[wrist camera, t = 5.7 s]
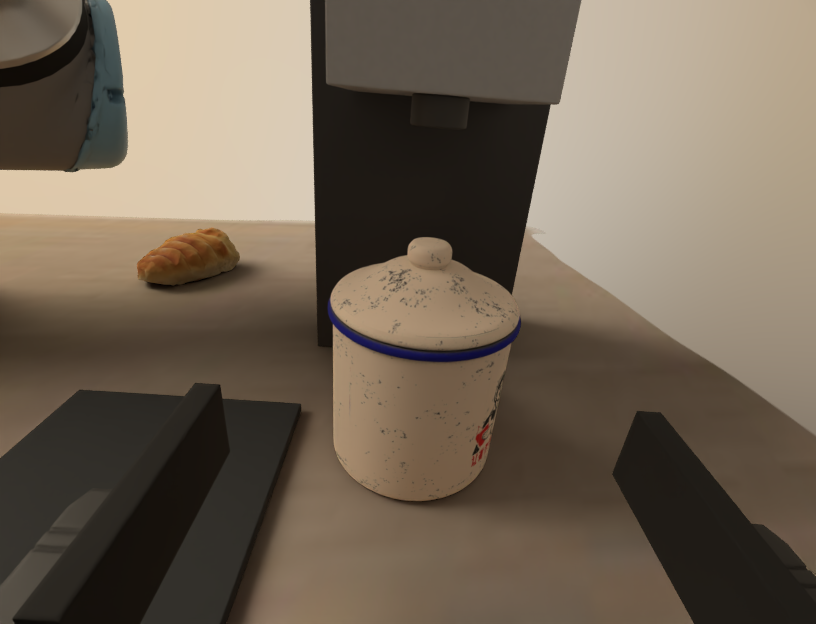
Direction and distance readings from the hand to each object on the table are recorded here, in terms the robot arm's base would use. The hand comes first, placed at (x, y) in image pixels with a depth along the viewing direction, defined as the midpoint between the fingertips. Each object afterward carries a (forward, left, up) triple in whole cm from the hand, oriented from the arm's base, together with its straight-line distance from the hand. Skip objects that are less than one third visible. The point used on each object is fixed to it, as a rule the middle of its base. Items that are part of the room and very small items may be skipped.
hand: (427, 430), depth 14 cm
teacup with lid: (+2, +9, -8) cm, 12 cm away
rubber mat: (-12, +6, -8) cm, 15 cm away
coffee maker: (+4, +16, -8) cm, 18 cm away
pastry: (-14, +35, -8) cm, 38 cm away
